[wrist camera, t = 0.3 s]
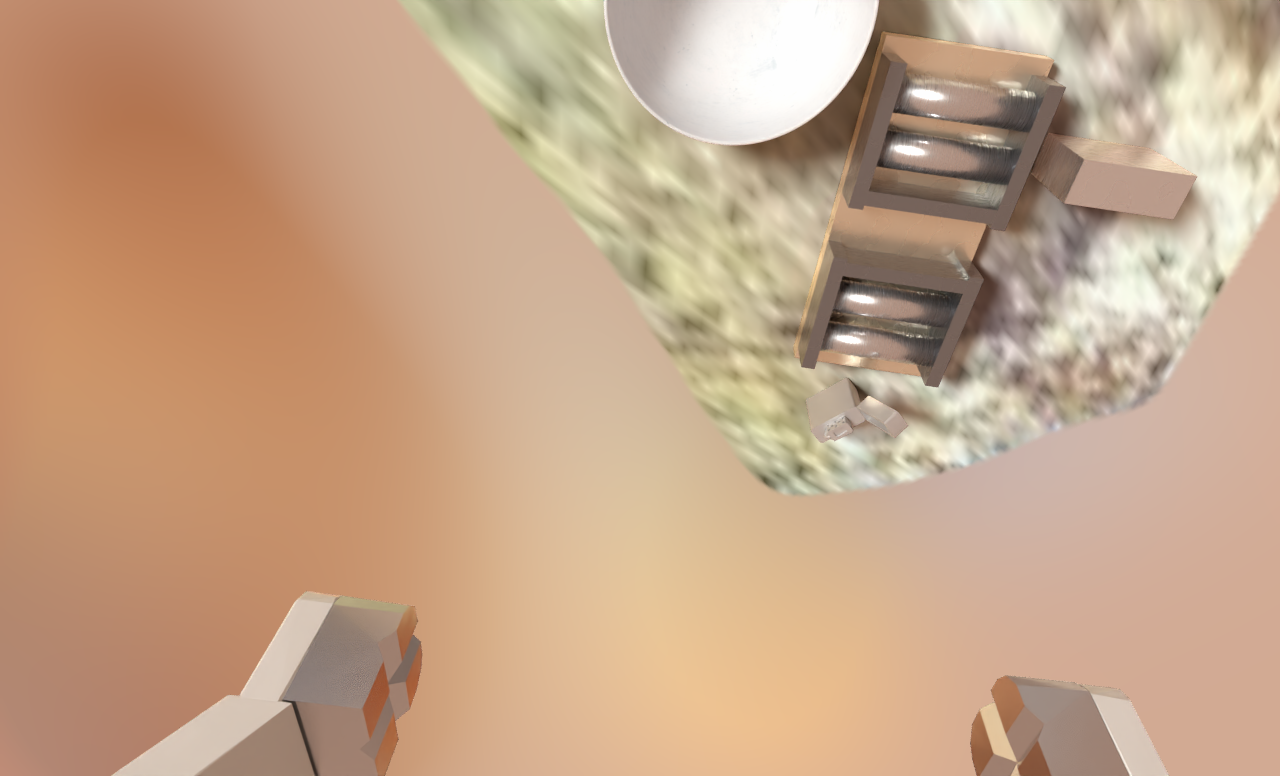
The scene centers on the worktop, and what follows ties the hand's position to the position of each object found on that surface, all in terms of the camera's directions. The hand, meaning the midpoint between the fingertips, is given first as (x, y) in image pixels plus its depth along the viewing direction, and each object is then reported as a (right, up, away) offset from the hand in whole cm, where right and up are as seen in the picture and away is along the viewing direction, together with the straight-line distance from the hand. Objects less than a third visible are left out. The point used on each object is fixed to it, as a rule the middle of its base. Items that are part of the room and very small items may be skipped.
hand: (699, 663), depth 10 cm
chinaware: (+5, +29, +37) cm, 47 cm away
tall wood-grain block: (+30, +20, +40) cm, 54 cm away
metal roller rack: (+19, +16, +44) cm, 50 cm away
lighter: (+17, +4, +52) cm, 55 cm away
